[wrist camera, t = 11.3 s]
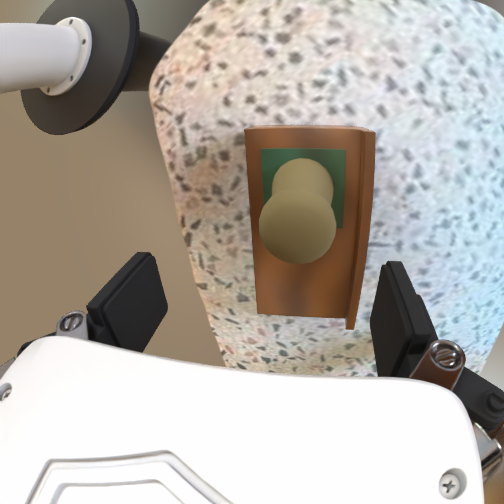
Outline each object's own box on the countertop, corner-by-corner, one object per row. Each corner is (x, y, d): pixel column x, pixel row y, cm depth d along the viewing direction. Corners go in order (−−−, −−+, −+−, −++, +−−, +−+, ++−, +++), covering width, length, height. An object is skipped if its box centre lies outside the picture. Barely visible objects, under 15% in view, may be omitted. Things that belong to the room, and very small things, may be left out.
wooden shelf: (263, 290, 40) (254, 324, 34) (254, 125, 30) (238, 130, 24) (349, 295, 38) (353, 329, 32) (362, 127, 27) (375, 131, 21)
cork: (261, 174, 27) (230, 214, 18) (317, 147, 25) (320, 173, 16) (289, 226, 29) (274, 289, 20) (343, 204, 27) (357, 260, 18)
